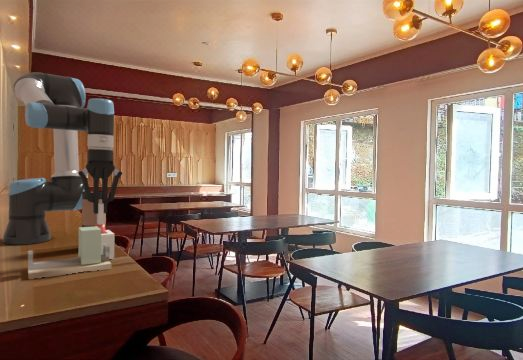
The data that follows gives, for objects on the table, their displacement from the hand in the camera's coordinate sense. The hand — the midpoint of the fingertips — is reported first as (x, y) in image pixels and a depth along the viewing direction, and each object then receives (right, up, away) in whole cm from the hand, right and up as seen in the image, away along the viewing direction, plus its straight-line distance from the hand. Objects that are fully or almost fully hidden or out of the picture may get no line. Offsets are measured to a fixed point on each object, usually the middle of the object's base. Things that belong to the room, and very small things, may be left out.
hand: (100, 223), depth 117 cm
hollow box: (0, -11, +1) cm, 11 cm away
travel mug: (-8, -10, +12) cm, 18 cm away
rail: (-3, -11, -13) cm, 18 cm away
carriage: (+1, -10, -10) cm, 14 cm away
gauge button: (0, -5, 0) cm, 5 cm away
